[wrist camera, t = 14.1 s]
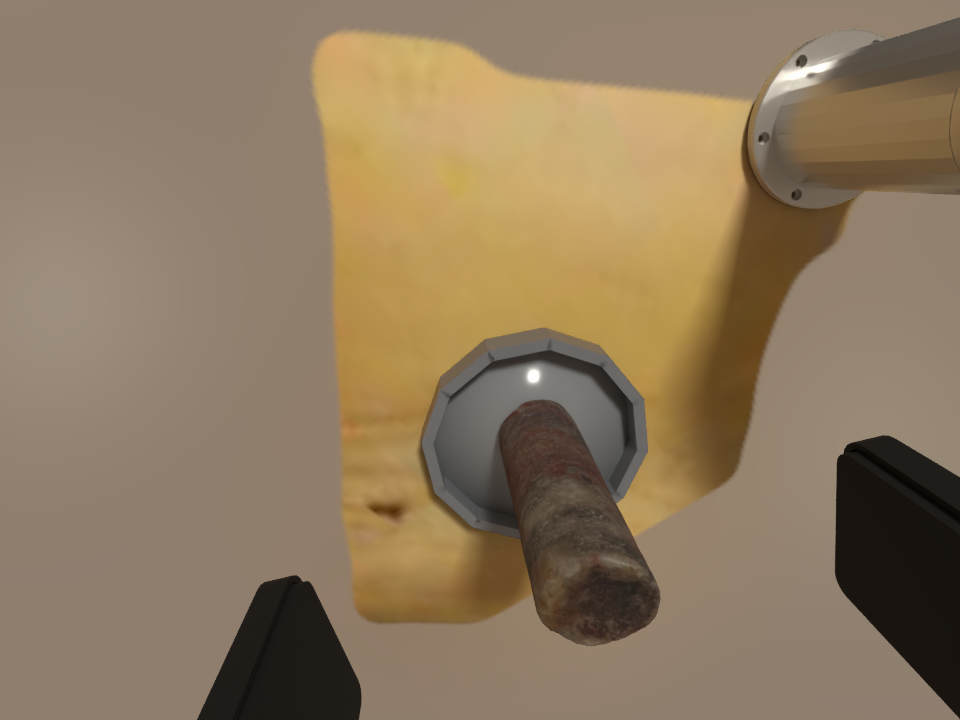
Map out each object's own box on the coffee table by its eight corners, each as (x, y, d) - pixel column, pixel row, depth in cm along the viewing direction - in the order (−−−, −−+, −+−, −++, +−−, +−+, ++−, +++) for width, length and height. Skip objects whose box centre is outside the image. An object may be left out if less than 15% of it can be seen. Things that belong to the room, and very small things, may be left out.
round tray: (625, 311, 44) (637, 320, 41) (642, 496, 51) (653, 515, 48) (404, 355, 44) (401, 367, 41) (451, 534, 51) (451, 554, 49)
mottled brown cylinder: (587, 451, 48) (676, 631, 29) (516, 479, 48) (559, 674, 30) (559, 385, 45) (639, 536, 26) (485, 416, 46) (511, 584, 27)
